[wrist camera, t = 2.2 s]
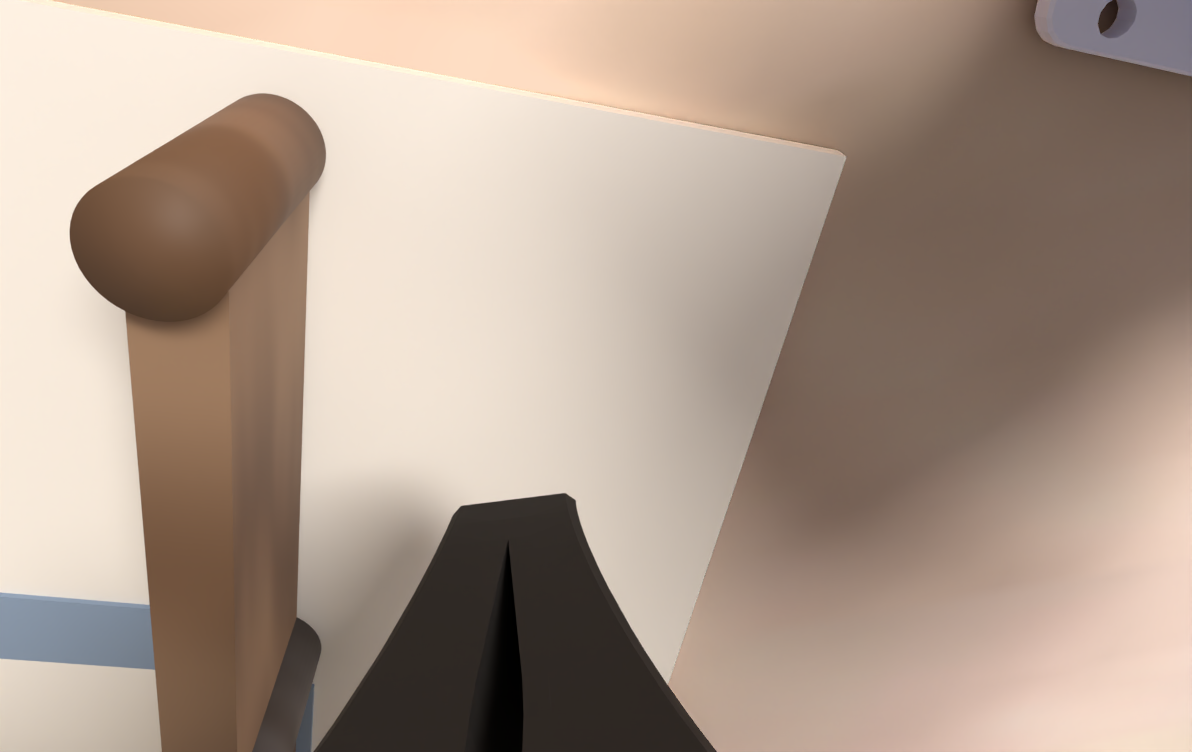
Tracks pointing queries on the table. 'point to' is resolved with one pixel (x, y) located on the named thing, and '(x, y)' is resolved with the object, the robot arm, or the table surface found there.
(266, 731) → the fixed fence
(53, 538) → the card
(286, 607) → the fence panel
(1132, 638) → the table surface
